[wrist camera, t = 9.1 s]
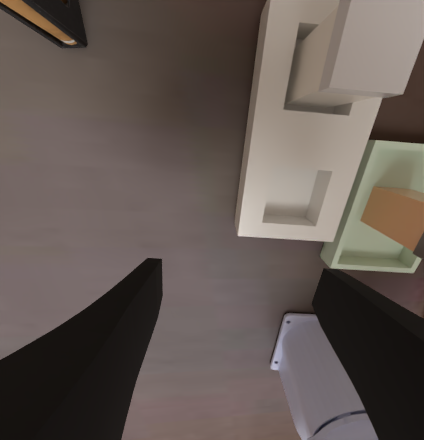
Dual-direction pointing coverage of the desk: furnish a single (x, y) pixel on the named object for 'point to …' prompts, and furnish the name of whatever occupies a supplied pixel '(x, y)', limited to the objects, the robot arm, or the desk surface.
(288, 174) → the block
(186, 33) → the desk surface
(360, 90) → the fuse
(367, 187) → the parts tray
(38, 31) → the ammunition clip
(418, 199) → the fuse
